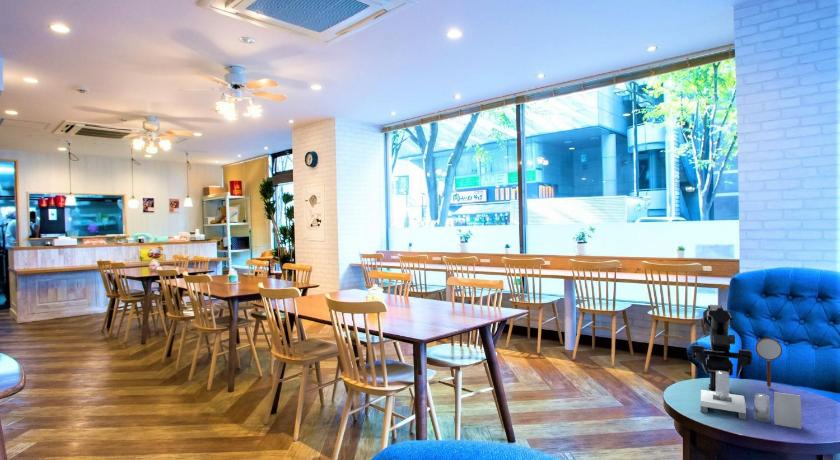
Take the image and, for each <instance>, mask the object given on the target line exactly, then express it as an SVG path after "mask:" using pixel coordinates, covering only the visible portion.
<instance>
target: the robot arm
mask: <svg viewBox="0 0 840 460" xmlns="http://www.w3.org/2000/svg"><path fill="white" fill-rule="evenodd" d="M733 320H734V317H733V316H732V314H731V313H730V312H729V311H728V309H724V308H723V307H722V305H720V304H719V305H718V304H708V305H707V308H706V309H705V310H704V311H703V312H702V325H704V328H705V329H704V330H705V331H707V332H708V333H709V339H710V348H709V349H704V345H699V344H693V345H691V358H692V359H693V360H695V361H698V363H700V365H701V367H702V369H703V371H704V373H705V374H706V375H708V374H709V383H708V389H709V390H710V391H716V371H726V372H728V373H729V377H732V376H733V375H734V363H733V361H732V360H731V359H737V363H736V373H735V377H736V378H739V375H740V372H741V371H742V369H743V367H747V366H748V365H751V364H752V362H753V361H752V360H753V352H752V351H751V350H749V349H740V348H738V352H731V345H735V344H736V335H735V334H729V328H730V323H731V322H732V321H733ZM706 356H707V357H706Z"/></svg>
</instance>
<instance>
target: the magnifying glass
mask: <svg viewBox="0 0 840 460" xmlns="http://www.w3.org/2000/svg"><path fill="white" fill-rule="evenodd" d="M754 349H755V352H756V354H757V355H758V356H759V357H760V358H762V359H764V360H766V384H767V385H766V386H767V389H771V387H772V386H771V385H772V377H771V375H772V374H771V372H772V371H771V369H772V368H771V365H772V364H771V361H774V360H777V359H779V357H781V355H782V354H783V353H782V352H783V347H782V345H781V344H780V342H779V341H777V340H776V339H774V338H770V337H764V338H761V339H758V341H757V342H756V344H755V347H754Z"/></svg>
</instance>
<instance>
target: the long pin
mask: <svg viewBox="0 0 840 460" xmlns="http://www.w3.org/2000/svg"><path fill="white" fill-rule="evenodd" d="M715 392H716V400H720V401H727V402H729V394H730V376H729V373H728V372H726V371H716V390H715ZM717 411H721V412H730V411H729V410H722V409H718V410H717Z"/></svg>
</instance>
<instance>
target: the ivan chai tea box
mask: <svg viewBox="0 0 840 460" xmlns="http://www.w3.org/2000/svg"><path fill="white" fill-rule="evenodd" d="M801 399H802V398H801V395H800V394H799V395H798V394H792V393H783V392H780V391H779V392H777V391H774V392H773V423H774V425H777V426H783V427H789V428H792V429H794V428H795V429H799V430H802V423H803V422H802V402H801V401H802V400H801Z"/></svg>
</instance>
